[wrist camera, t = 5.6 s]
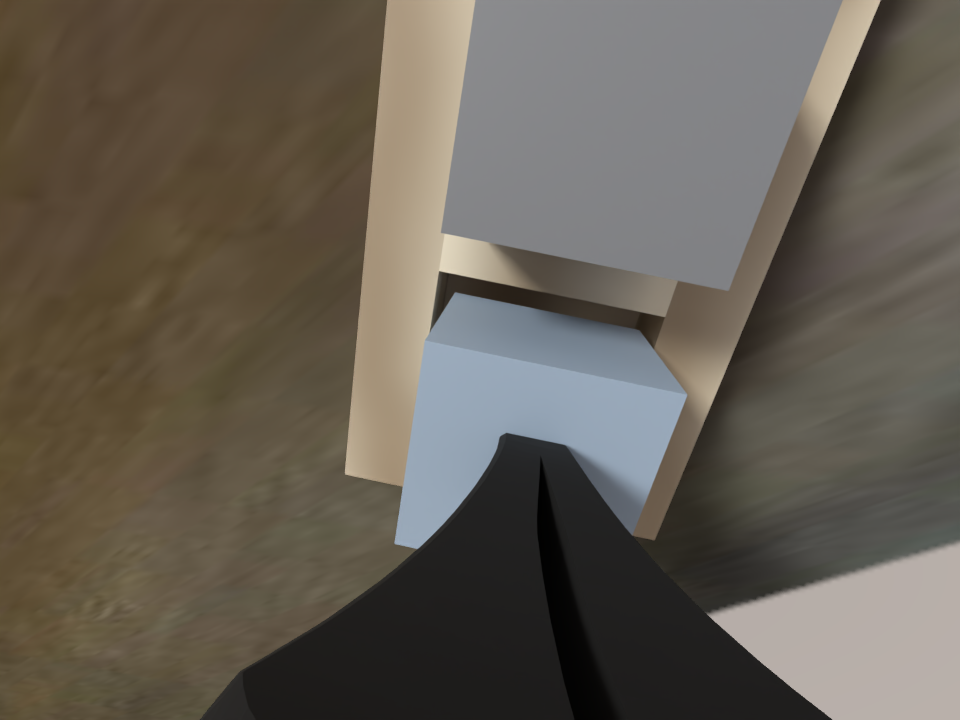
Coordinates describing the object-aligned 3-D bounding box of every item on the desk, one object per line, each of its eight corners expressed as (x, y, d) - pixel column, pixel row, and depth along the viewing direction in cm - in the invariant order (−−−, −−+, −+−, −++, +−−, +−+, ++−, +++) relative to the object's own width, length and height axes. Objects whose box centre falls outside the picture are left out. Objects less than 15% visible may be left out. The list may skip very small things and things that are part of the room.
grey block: (742, 18, 10) (874, -80, 6) (664, 254, 12) (728, 291, 8) (508, -28, 10) (497, -150, 6) (468, 215, 12) (441, 232, 8)
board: (1000, -457, 9) (1162, -674, 6) (637, 492, 17) (654, 540, 15) (475, -545, 9) (458, -787, 7) (368, 435, 17) (344, 474, 15)
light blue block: (639, 330, 12) (687, 394, 9) (589, 482, 14) (610, 590, 11) (454, 292, 12) (424, 340, 9) (428, 449, 14) (394, 543, 11)
